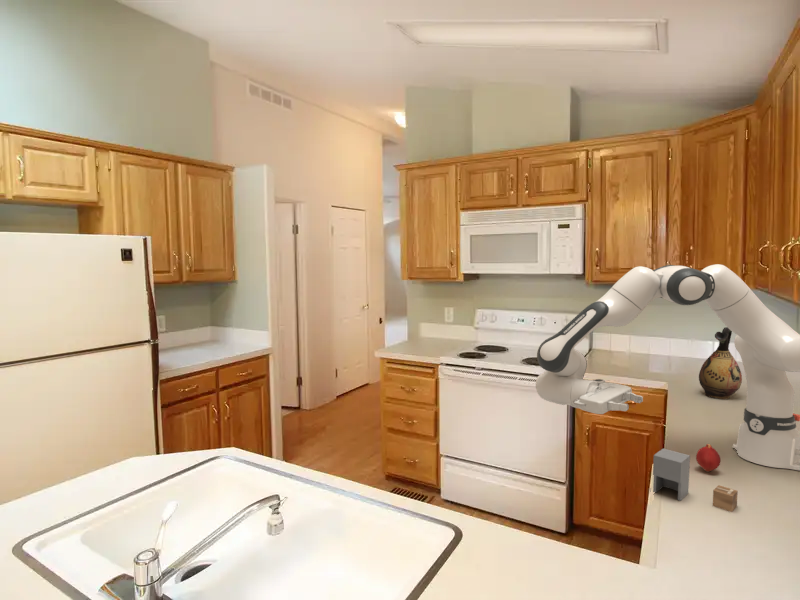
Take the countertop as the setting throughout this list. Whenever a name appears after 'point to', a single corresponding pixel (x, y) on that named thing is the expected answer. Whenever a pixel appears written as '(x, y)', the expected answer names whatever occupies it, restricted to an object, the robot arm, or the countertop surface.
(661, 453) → the grey block
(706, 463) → the pomegranate
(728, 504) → the letter block
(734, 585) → the countertop surface
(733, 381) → the ceramic jug
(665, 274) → the robot arm
